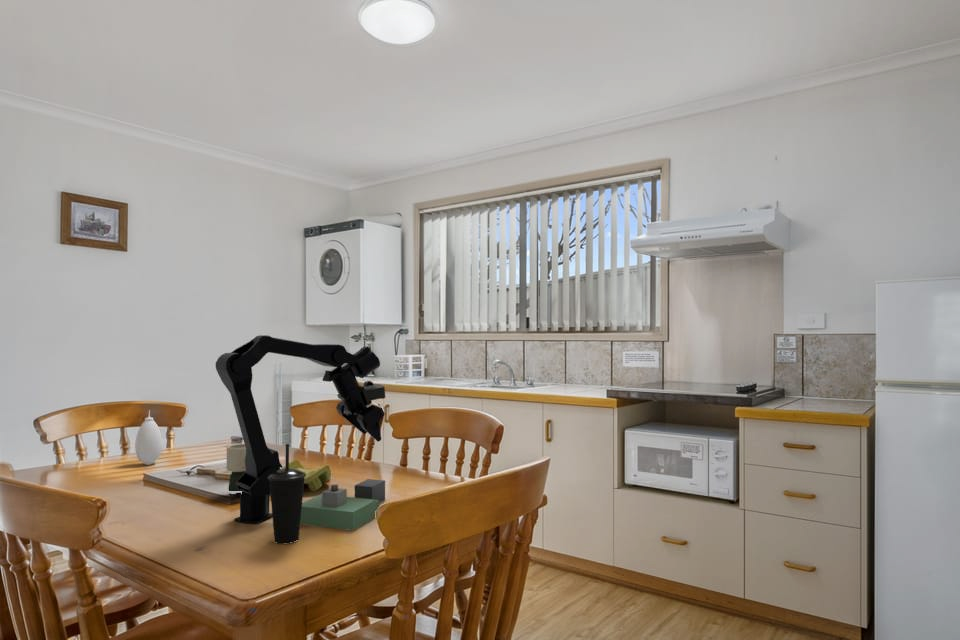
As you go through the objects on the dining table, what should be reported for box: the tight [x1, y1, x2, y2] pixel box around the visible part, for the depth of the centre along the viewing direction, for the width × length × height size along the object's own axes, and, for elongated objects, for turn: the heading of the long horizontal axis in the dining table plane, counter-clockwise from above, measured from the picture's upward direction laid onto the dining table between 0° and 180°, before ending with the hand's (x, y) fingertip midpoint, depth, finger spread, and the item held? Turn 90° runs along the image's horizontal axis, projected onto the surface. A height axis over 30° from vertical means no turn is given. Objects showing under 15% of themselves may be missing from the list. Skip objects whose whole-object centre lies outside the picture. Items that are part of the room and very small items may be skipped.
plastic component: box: [280, 459, 332, 492], centre depth 173 cm, size 20×7×10 cm
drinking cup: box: [268, 443, 306, 544], centre depth 128 cm, size 8×8×20 cm
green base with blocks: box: [300, 484, 380, 531], centre depth 145 cm, size 17×15×8 cm
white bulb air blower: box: [134, 409, 163, 466], centre depth 201 cm, size 8×8×18 cm
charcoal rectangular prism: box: [354, 478, 386, 503], centre depth 157 cm, size 7×5×5 cm
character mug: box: [226, 443, 246, 491], centre depth 164 cm, size 11×7×13 cm, turn 42°
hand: (372, 436), depth 164 cm, fingers open, 9 cm apart
